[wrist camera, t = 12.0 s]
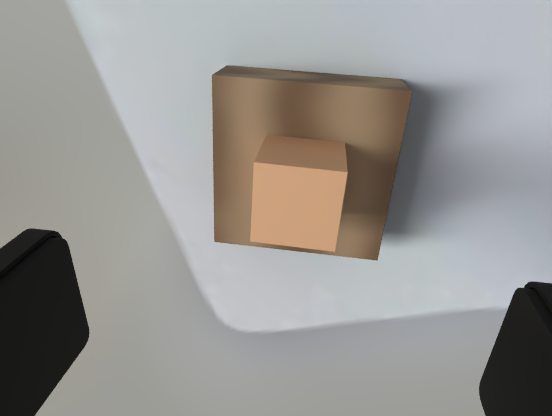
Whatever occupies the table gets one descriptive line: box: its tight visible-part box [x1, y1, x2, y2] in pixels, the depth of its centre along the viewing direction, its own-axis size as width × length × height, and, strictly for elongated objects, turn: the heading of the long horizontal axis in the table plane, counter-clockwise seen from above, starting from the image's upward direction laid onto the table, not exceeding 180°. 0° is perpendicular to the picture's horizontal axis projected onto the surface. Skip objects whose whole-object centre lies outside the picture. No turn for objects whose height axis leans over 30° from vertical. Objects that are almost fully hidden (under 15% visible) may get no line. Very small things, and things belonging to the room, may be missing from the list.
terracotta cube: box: [250, 135, 348, 252], centre depth 25 cm, size 5×5×5 cm
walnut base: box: [212, 66, 412, 260], centre depth 29 cm, size 12×12×4 cm
